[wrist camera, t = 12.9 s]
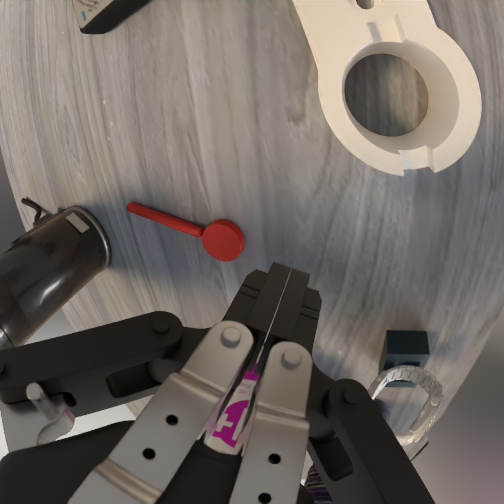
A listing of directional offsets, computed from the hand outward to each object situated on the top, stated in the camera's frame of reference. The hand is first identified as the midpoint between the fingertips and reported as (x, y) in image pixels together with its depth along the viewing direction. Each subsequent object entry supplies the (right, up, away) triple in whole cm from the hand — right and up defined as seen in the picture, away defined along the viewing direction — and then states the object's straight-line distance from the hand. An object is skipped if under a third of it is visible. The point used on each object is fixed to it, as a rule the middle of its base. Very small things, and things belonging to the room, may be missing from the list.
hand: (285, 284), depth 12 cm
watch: (+15, -9, +16) cm, 23 cm away
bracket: (+7, +17, +3) cm, 19 cm away
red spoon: (-7, +4, +16) cm, 18 cm away
